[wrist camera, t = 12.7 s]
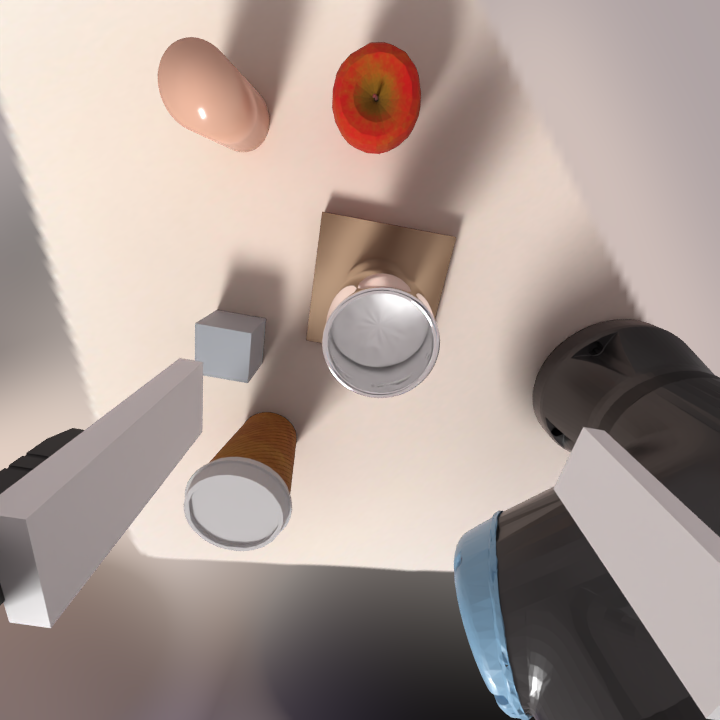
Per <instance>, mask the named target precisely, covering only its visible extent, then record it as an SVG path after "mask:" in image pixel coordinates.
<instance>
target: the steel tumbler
mask: <svg viewBox="0 0 720 720" xmlns="http://www.w3.org/2000/svg"><path fill="white" fill-rule="evenodd" d="M439 347H440V336H439V330H438V326H437V324H436V321H435V319H434V316H433V313H432V310H431V307H430V305H429V303H428V301H427V299H426V297H425V295H424V294H423V292H422V291H421V290H420V289H419V288H418V286H417V285H416V284H415V283H414V282H413V281H412V280H410V279H409V278H408V277H406V276H405V274H404V272H403V271H402V270H401V269H400V268H399V267H398V266H397V265H396V264H394V263H393V262H391V261H389V260H386V259H381V258H372V259H368V260H365V261H362V262H361V263H359V264H357V265H356V266H355V267H354V268H353V269H352V270H351V271H350V273H349V274H348V276H347V278H346V281H345V283H344V284H343V285H342V286H341V287H340V288H339V289H338V291H337V292H336V294H335V296H334V297H333V299H332V301H331V303H330V306H329V309H328V312H327V316H326V320H325V327H324V332H323V338H322V348H323V354H324V358H325V361H326V364H327V366H328V368H329V370H330V371H331V373H332V374H333V376H334V377H335V378H336V379H337V380H338V381H339V382H340V383H341V384H342V385H343V386H345V387H346V388H348V389H349V390H351V391H353V392H355V393H357V394H360V395H363V396H367V397H374V398H387V397H393V396H397V395H400V394H403V393H406V392H408V391H410V390H411V389H413V388H415V387H416V386H417V385H419V384H420V383H421V382H422V381H423V380H424V379H425V378H426V377H427V376H428V375H429V373H430V372H431V370H432V369H433V367H434V365H435V363H436V360H437V357H438V353H439Z"/></svg>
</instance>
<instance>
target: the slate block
mask: <svg viewBox="0 0 720 720" xmlns="http://www.w3.org/2000/svg"><path fill="white" fill-rule="evenodd" d="M265 326H266V319H265V318H260V317H254V316H249V315H243V314H238V313H232V312H226V311H221V310H216V311H214V312H213V313H211V314H210V315H208V316H206V317H205V318H203V319H202V320H200V321H198V322H197V323H195V361H200V362H203V375H204V376H210V377H216V378H222V379H227V380H233V381H239V382H245V383H248V382H249V381H250V380H251V378H252V377H253V375H254V374H255V373H256V371H257V370H258V368H259V367H260V366H261V364H262V362H263V350H264V338H265Z"/></svg>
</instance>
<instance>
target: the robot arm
mask: <svg viewBox="0 0 720 720" xmlns="http://www.w3.org/2000/svg"><path fill="white" fill-rule="evenodd" d="M533 407H534V411H535V414H536V417H537V419H538V421H539V423H540V424H541V426H542V427H543V428H544V430H545V431H546V432H547V433H548V434H549V436H550V437H551V438H552V439H553V440H554V441H555V442H556V443H557V444H558V445H560V446H561V447H562V448H564V449H565V450H567V451H569V452H571V454H570V456H569V458H568V460H567V462H566V464H565V466H564V468H563V470H562V472H561V474H560V476H559V478H558V480H557V483H556V485H555V486H554V487H552V488H550V489H548V490H546V491H544V492H542V493H540V494H538V495H536V496H534V497H532V498H530V499H528V500H526V501H524V502H522V503H520V504H518V505H516V506H514V507H512V508H510V509H508V510H506V511H498V512H496V513H495V514H494V515H493V517H492V518H490V519H489V520H487V521H485V522H483V523H482V524H480V525H478V526H476V527H475V528H473V529H471V530H469V531H468V532H466V533H465V534H464V535H463V536H462V537H461V539H460V540H459V542H458V544H457V547H456V551H455V556H454V572H455V576H454V577H455V586H456V593H457V599H458V603H459V608H460V612H461V616H462V620H463V624H464V627H465V631H466V634H467V637H468V641H469V644H470V647H471V649H472V652H473V655H474V658H475V660H476V662H477V665H478V668H479V670H480V673H481V675H482V677H483V679H484V681H485V683H486V685H487V687H488V689H489V690H490V692H491V693H493V694H494V695H495V698H496V701H497V704H498V705H499V706H500V708H501V709H502V710H503V711H504V712H505V713H506V714H507V715H509V716H510V717H513V718H520V719H522V720H528V719H529V718H531V717H532V716H534V718H535V719H536V720H720V378H719V377H717V376H715V375H714V374H713V373H712V372H711V371H710V369H709V368H707V366H706V365H705V364H704V363H703V362H702V361H701V360H700V359H699V358H698V357H697V355H695V353H694V352H693V351H692V350H691V349H690V348H689V347H688V346H687V345H686V344H685V343H684V342H683V341H682V340H681V339H680V338H678V337H677V336H675V335H674V334H672V333H670V332H668V331H666V330H664V329H661V328H659V327H656V326H654V325H651V324H649V323H646V322H642V321H637V320H612V321H606V322H602V323H598V324H595V325H592V326H590V327H587V328H585V329H583V330H581V331H579V332H577V333H575V334H574V335H572V336H571V337H569V338H568V339H566V340H565V341H564V342H563V343H561V344H560V345H559V346H558V347H557V348H556V349H555V350H554V351H553V352H552V353H551V354H550V356H549V357H548V358H547V360H546V361H545V362H544V364H543V366H542V367H541V369H540V371H539V373H538V375H537V378H536V381H535V385H534V389H533ZM202 411H203V362H200V361H194V360H188V359H182V358H179V359H178V360H177V361H175V362H174V363H173V364H171V365H170V366H169V367H168V368H166V369H165V370H164V371H162V372H161V373H160V374H158V375H157V376H156V377H154V378H153V379H152V380H150V381H149V382H148V383H146V384H145V385H144V386H142V387H141V388H140V389H138V390H137V391H136V392H135V393H133V394H132V395H131V396H129V397H128V398H127V399H125V400H124V401H123V402H121V403H120V404H119V405H117V406H116V407H115V408H113V409H112V410H111V411H109V412H108V413H107V414H106V415H104V416H103V417H102V418H100V419H99V420H98V421H96V422H95V423H94V424H92V425H91V426H90V427H88V428H87V429H86V430H81V429H75V428H72V429H69V430H67V431H64V432H62V433H60V434H57V435H55V436H53V437H51V438H48V439H46V440H45V441H43V442H42V443H40V444H39V445H37V446H36V447H35V448H33V449H32V450H30V451H29V452H27V454H26V456H22V457H20V458H19V459H17V460H16V461H14V462H13V463H11V464H10V465H9V467H8V468H7V469H6V468H4V469H3V470H1V471H0V605H1V604H2V603H3V602H4V606H5V609H6V612H7V616H8V619H9V622H11V623H18V624H25V625H33V626H40V627H47V628H51V627H52V626H53V625H54V623H55V622H56V621H57V619H58V618H59V617H60V615H61V614H62V613H63V612H64V610H65V609H66V608H67V606H68V605H69V604H70V603H71V601H72V600H73V599H74V597H75V596H76V595H77V594H78V592H79V591H80V590H81V588H82V587H83V586H84V584H85V583H86V582H87V581H88V579H89V578H90V577H91V575H92V574H93V573H94V571H95V570H96V569H97V568H98V566H99V565H100V564H101V562H102V561H103V560H104V558H105V557H106V556H107V555H108V553H109V552H110V550H111V549H112V548H113V547H114V546H115V544H116V543H117V542H118V540H119V539H120V538H121V536H122V535H123V534H124V533H125V531H126V530H127V529H128V527H129V526H130V525H131V523H132V522H133V521H134V520H135V518H136V517H137V516H138V514H139V513H140V512H141V511H142V509H143V508H144V507H145V505H146V504H147V503H148V501H149V500H150V499H151V498H152V496H153V495H154V494H155V492H156V491H157V490H158V488H159V487H160V486H161V485H162V483H163V482H164V481H165V479H166V478H167V477H168V475H169V474H170V473H171V472H172V470H173V469H174V468H175V466H176V465H177V464H178V463H179V461H180V460H181V459H182V457H183V456H184V455H185V453H186V452H187V451H188V450H189V448H190V447H191V446H192V444H193V443H194V442H195V440H196V439H197V438H198V437H199V435H200V434H201V433H202Z"/></svg>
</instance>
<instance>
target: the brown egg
mask: <svg viewBox="0 0 720 720" xmlns="http://www.w3.org/2000/svg"><path fill="white" fill-rule="evenodd" d="M158 86H159V91H160V95H161V98H162V100H163V103H164V105H165V107H166V109H167V110H168V112H169V113H170V115H171V116H172V117H173V118H174V119H175V120H176V121H177V122H178V123H179V124H181V125H182V126H183V127H185V128H187V129H189V130H191V131H193V132H195V133H197V134H199V135H202V136H204V137H206V138H208V139H210V140H212V141H215V142H217V143H219V144H221V145H223V146H225V147H228V148H230V149H232V150H234V151H238V152H248V151H252V150H254V149H256V148H257V147H259V146H260V145H261V144H262V143H263V141H264V140H265V138H266V136H267V133H268V130H269V112H268V108H267V105H266V103H265V101H264V99H263V98H262V96H261V95H260V94H259V93H258V91H257V90H256V89H255V88H254V87H253V86H252V85H251V84H250V83H249V82H248V81H247V80H246V78H245V77H244V76H243V75H242V74H241V73H240V72H239V71H238V70H237V69H236V68H235V67H234V65H233V64H232V63H231V62H230V61H229V60H228V59H227V58H226V57H225V56H224V55H223V54H222V53H221V51H220V50H219V49H218V48H216V47H215V46H214V45H212V44H211V43H209V42H207V41H205V40H203V39H199V38H194V37H189V38H183V39H180V40H177V41H176V42H174V43H173V44H171V45H170V46H169V47H168V48H167V50H166V51H165V53H164V54H163V56H162V58H161V61H160V64H159V69H158Z"/></svg>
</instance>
